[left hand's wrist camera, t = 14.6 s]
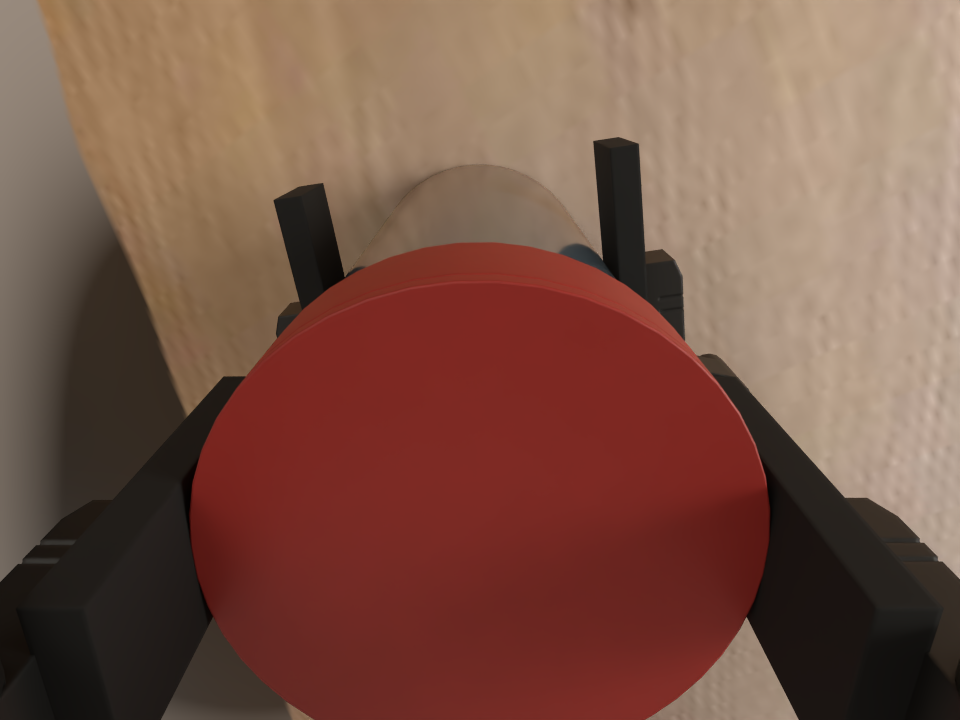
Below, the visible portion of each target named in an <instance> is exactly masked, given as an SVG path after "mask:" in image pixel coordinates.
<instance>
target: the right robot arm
mask: <svg viewBox="0 0 960 720" xmlns="http://www.w3.org/2000/svg"><path fill="white" fill-rule="evenodd" d="M593 143H594V155H595V167H596V180H597V192H598V204H599V216H600V229H601V241H602V253H603V262H604V263H605V265H606V266H607V267H608V269H609V270H610V272H611V273H612V274H613V276H614V277H615V278H616V280H618V281H620V282H621V283H623V284H625V285H626V286H628V287H629V288H630V289H631V290H633V291H634V292H635V293H637V294H638V295H639V296H641V297H642V298H643V299H644V300H646V301H647V302H648V303H650V304H651V305H652V306H653V307H654V308H655V309H656V310H657V311H658V312H659V313H660V314H661V315H662V316H663V317H664V318H665V319H666V320H667V321H668V323H669V324H670V325H671V326H672V327H673V328H674V329H675V330H676V331H677V333H678V334H679V335H680V336H681V337H682V339H683V340H684V341H685V331H684V310H683V307H684V304H683V278H682V274H681V272H680V270H679V268H678V266H677V264H676V262H675V260H674V259H673V258H672V257H671V256H669V255H668V254H667V253H666V252H665V251H664V250H663V249H661V250H654V251H647V252H645V243H644V226H643V209H642V192H641V174H640V157H639V144H638V143H635V142H632V141H629V140H626V139H623V138H620V137H617V138H610V139H604V140H597V141H593ZM274 204H275V208H276V212H277V216H278V220H279V223H280V227H281V231H282V235H283V239H284V243H285V247H286V250H287V254H288V258H289V262H290V266H291V270H292V274H293V277H294V281H295V285H296V289H297V293H298V297H299V301H300V302H294V303H290V304H289V305H288V307H287V308H286V309H285V310H284V311H283V312H282V313H281V314H280V316H279V317H278V323H277V330H276V335H277V338H278V337H279V336H280V335H281V333H282V332H283V331H284V330H285V329H286V328H287V327H288V326H289V324H290V323H291V322H292V321H293V320H294V319H295V318H296V317H297V316H298V315H299V314H300V313H301V311H302V310H303V309H304V308H305V307H307V306H308V305H309V304H310V303H312V302H313V301H314V300H315V299H317V298H318V297H319V296H320V295H321V294H323V293H324V292H325V291H326V290H328V289H329V288H330V287H332V286H334V285H335V284H337V283H339V282H340V281H342V280H343V279H344V278H345V276H344V272H343V267H342V263H341V259H340V254H339V250H338V246H337V241H336V237H335V233H334V228H333V224H332V220H331V215H330V211H329V207H328V202H327V198H326V194H325V189H324V185H323V183H320V184H314V185H307V186H301V187H298V188H296V189H294V190H292V191H290V192H288V193H286V194H284V195H282V196H281V197H279V198H277V199H275V200H274ZM697 357H698V358H699V359H700V361H701V362H702V363H703V364H704V366H705V367H706V368H707V369H708V371H709V372H710V373H711V374H712V375H713V376H736V375H735V374H734V373H733V371H732V370H731V369H730V368H729V367H728V366H727V365H726V364H725V363H724V361H723V360H722V359H721V358H719V357H718V356H717V355H713V354H705V355H701V356H697ZM736 377H737V376H736ZM737 378H738V377H737ZM738 379H739V378H738ZM739 381H740V382H741V383H742V381H741V380H740V379H739ZM742 384H743V383H742ZM743 385H744V384H743ZM744 386H745V385H744ZM745 387H746V386H745ZM746 388H747V387H746ZM747 389H748V388H747ZM748 391H749V389H748ZM749 392H750V391H749Z"/></svg>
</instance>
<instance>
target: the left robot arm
mask: <svg viewBox="0 0 960 720" xmlns="http://www.w3.org/2000/svg"><path fill="white" fill-rule="evenodd" d="M713 377H714V378H715V379H716V380H717V382H718V383H719V384H720V386H721V387H722V388H723V390H724V391H725V393H726V394H727V395H728V397H729V398H730V400H731V401H732V402H733V404H734V405H735V407H736V408H737V409H738V411H739V412H740V414H741V416H742V418H743V420H744V422H745V424H746V426H747V428H748V430H749V432H750V434H751V436H752V438H753V440H754V442H755V444H756V447H757V450H758V453H759V457H760V460H761V463H762V466H763V469H764V473H765V476H766V483H767V490H768V497H769V504H770V541H769V546H768V552H767V557H766V562H765V567H764V573H763V577H762V580H761V583H760V586H759V588H758V591H757V594H756V597H755V600H754V603H753V605H752V607H751V609H750V610H749V612H748V614H747V618H748V620H749V622H750V624H751V626H752V628H753V630H754V632H755V634H756V636H757V638H758V640H759V642H760V644H761V646H762V648H763V650H764V652H765V654H766V656H767V658H768V660H769V662H770V664H771V666H772V668H773V670H774V672H775V674H776V676H777V678H778V680H779V681H780V683H781V685H782V687H783V689H784V691H785V693H786V695H787V697H788V699H789V701H790V703H791V705H792V707H793V709H794V711H795V713H796V715H797V717H798V719H799V720H960V579H959V578H958V577H957V576H956V575H955V574H954V573H953V572H952V571H951V570H950V569H949V568H948V567H947V566H946V565H945V564H944V563H943V562H939V561H938V557H937V556H936V555H935V554H934V553H933V552H932V551H931V550H930V549H929V548H928V547H927V545H926V544H925V543H920V538H919V537H918V536H917V535H916V534H915V533H914V532H913V531H912V530H911V529H910V528H909V527H908V526H907V525H906V524H905V523H904V522H903V521H902V520H901V519H900V518H899V517H898V516H896V515H895V514H893V513H891V512H890V511H888V510H886V509H885V508H883V507H881V506H880V505H878V504H876V503H875V502H873V501H871V500H870V499H868V498H844V496H843V495H842V494H841V493H840V492H839V491H838V490H837V489H836V488H835V486H834V485H833V484H832V483H831V482H830V481H829V480H828V479H827V477H826V476H825V475H824V474H823V473H822V472H821V471H820V470H819V469H818V467H817V466H816V465H815V464H814V463H813V462H812V461H811V460H810V459H809V457H808V456H807V455H806V454H805V453H804V452H803V451H802V450H801V449H800V447H799V446H798V445H797V444H796V443H795V442H794V441H793V440H792V438H791V437H790V436H789V435H788V434H787V433H786V432H785V431H784V430H783V428H782V427H781V426H780V425H779V424H778V423H777V422H776V421H775V420H774V418H773V417H772V416H771V415H770V414H769V413H768V412H767V411H766V409H765V408H764V407H763V406H762V405H761V404H760V403H759V402H758V401H757V399H756V398H755V397H754V396H753V395H752V394H751V393H750V392H749V391H748V389H747V388H746V387H745V386H744V385H743V384H742V383H741V382H740V381H739V379H738V378H737V377H736V376H713ZM244 379H245V377H223V378H222V379H221V380H220V381H219V382H218V383H217V385H216V386H215V387H214V388H213V389H212V390H211V391H210V392H209V393H208V395H207V396H206V397H205V398H204V399H203V400H202V401H201V402H200V403H199V405H198V406H197V407H196V408H195V409H194V410H193V411H192V412H191V413H190V415H189V416H188V417H187V418H186V419H185V420H184V421H183V422H182V424H181V425H180V426H179V427H178V428H177V429H176V430H175V431H174V432H173V434H172V435H171V436H170V437H169V438H168V439H167V440H166V441H165V442H164V444H163V445H162V446H161V447H160V448H159V449H158V450H157V451H156V452H155V454H154V455H153V456H152V457H151V458H150V459H149V460H148V461H147V463H146V464H145V465H144V466H143V467H142V468H141V469H140V470H139V471H138V473H137V474H136V475H135V476H134V477H133V478H132V479H131V480H130V482H129V483H128V484H127V485H126V486H125V487H124V488H123V489H122V490H121V492H120V493H119V494H118V495H117V496H116V497H115V498H114V499H113V500H93V501H91V502H89V503H88V504H86V505H84V506H83V507H81V508H79V509H78V510H76V511H74V512H73V513H71V514H69V515H68V516H66V517H64V518H63V519H61V520H60V522H59V523H58V524H57V525H56V526H55V527H54V528H53V529H52V530H51V531H50V532H49V533H48V534H47V535H46V536H45V537H44V538H43V539H42V540H41V543H40V545H36V546H35V547H34V548H33V549H32V550H31V551H30V552H29V553H28V554H27V555H26V556H25V557H24V558H23V562H22V564H18V565H17V566H16V567H15V568H14V569H13V570H12V571H11V572H10V573H9V574H8V575H7V576H6V577H5V578H4V579H3V580H2V581H1V582H0V720H161V718H162V716H163V714H164V712H165V710H166V708H167V706H168V704H169V702H170V700H171V698H172V696H173V694H174V692H175V691H176V689H177V687H178V685H179V683H180V681H181V679H182V677H183V675H184V673H185V671H186V669H187V667H188V665H189V663H190V661H191V659H192V657H193V655H194V653H195V651H196V649H197V647H198V645H199V643H200V641H201V639H202V637H203V635H204V633H205V631H206V629H207V628H208V625H209V624H210V622H211V620H212V618H213V615H212V614H211V612H210V610H209V608H208V606H207V603H206V601H205V598H204V595H203V592H202V590H201V587H200V584H199V582H198V579H197V574H196V569H195V564H194V559H193V554H192V549H191V543H190V523H189V510H190V502H191V493H192V484H193V479H194V475H195V472H196V468H197V465H198V461H199V458H200V454H201V451H202V448H203V446H204V444H205V442H206V439H207V437H208V435H209V433H210V431H211V429H212V426H213V424H214V422H215V420H216V418H217V416H218V415H219V413H220V412H221V411H222V409H223V408H224V406H225V405H226V403H227V402H228V400H229V399H230V397H231V396H232V394H233V393H234V391H235V390H236V388H237V387H238V386H239V385H240V383H241V382H242V381H243V380H244Z"/></svg>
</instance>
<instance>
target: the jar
mask: <svg viewBox="0 0 960 720" xmlns="http://www.w3.org/2000/svg"><path fill="white" fill-rule="evenodd" d="M473 242H497V243H505V244H513V245H522V246H530V247H534V248H538V249H542V250H546V251H550V252H554V253H557V254H561V255H565V256H567V257H570V258H572V259H575V260H577V261H580V262H582V263H585V264H587V265H590V266H592V267H595V268H597V269H599V270H600V271H602V272H604V273H606V274H607V275H609V276H611V277H613V278H614V279H616V278H615V277H614V276H613V274H612V273H611V272H610V270H609V269H608V267H607V266H606V265H605V263H604V262H603V260H602V259H601V258H600V256H599V255H598V254H597V252H596V251H595V249H594V248H593V247H592V245H591V244H590V242H589V241H588V240H587V238H586V237H585V236H584V234H583V233H582V231H581V230H580V229H579V227H578V226H577V224H576V223H575V222H574V220H573V219H572V217H571V216H570V215H569V213H568V212H567V211H566V209H565V208H564V206H563V205H562V204H561V202H560V201H559V200H558V199H557V198H556V197H555V196H554V195H553V194H552V193H551V192H550V191H549V190H548V189H547V188H545V187H544V186H543V185H541V184H540V183H539V182H537V181H535V180H534V179H532V178H530V177H529V176H527V175H525V174H522V173H520V172H517V171H515V170H512V169H508V168H504V167H501V166H493V165H467V166H460V167H455V168H452V169H449V170H445V171H442V172H440V173H438V174H436V175H433V176H431V177H430V178H428V179H426V180H425V181H423V182H421V183H420V184H418V185H417V186H416V187H415V188H414V189H412V190H411V191H410V192H409V193H408V194H407V195H406V196H405V197H404V198H403V199H402V200H401V201H400V202H399V204H398V205H397V206H396V208H395V209H394V211H393V212H392V213H391V215H390V216H389V217H388V219H387V220H386V222H385V223H384V224H383V226H382V227H381V228H380V230H379V231H378V233H377V234H376V235H375V237H374V238H373V239H372V241H371V242H370V244H369V245H368V246H367V248H366V249H365V251H364V252H363V253H362V255H361V256H360V257H359V259H358V260H357V262H356V263H355V264H354V266H353V267H352V268H351V270H350V271H349V273H348V274H347V275H346V277H345V278H347V277H349V276H350V275H352V274H354V273H355V272H357V271H359V270H361V269H363V268H366V267H368V266H370V265H373V264H375V263H377V262H380V261H382V260H384V259H387V258H389V257H392V256H396V255H399V254H403V253H406V252H410V251H413V250H417V249H421V248H425V247H432V246H439V245H446V244H453V243H473ZM345 278H344V279H345ZM344 279H343V280H344Z"/></svg>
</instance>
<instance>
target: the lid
mask: <svg viewBox="0 0 960 720" xmlns="http://www.w3.org/2000/svg"><path fill="white" fill-rule="evenodd" d="M189 523H190V543H191V549H192V554H193V559H194V564H195V569H196V574H197V579H198V582H199V584H200V587H201V590H202V592H203V595H204V598H205V601H206V603H207V606H208V608H209V610H210V612H211V614H212V615H213V617H214V619H215V621H216V623H217V624H218V626H219V628H220V630H221V632H222V634H223V635H224V637H225V638H226V639H227V641H228V642H229V643H230V645H231V646H232V647H233V649H234V650H235V652H236V653H237V654H238V656H239V657H240V658H241V660H242V661H243V662H244V663H245V664H246V665H247V666H248V667H249V668H250V669H251V670H252V671H253V672H254V673H255V674H256V675H257V676H258V677H259V678H260V679H261V681H262V682H264V683H265V684H266V685H267V686H268V687H270V688H271V689H272V690H273V691H274V692H276V693H277V694H278V695H279V696H280V697H282V698H283V699H284V700H285V701H286V702H288V703H289V704H291V705H293V706H294V707H296V708H297V709H299V710H300V711H302V712H303V713H305V714H306V715H308V716H309V717H311V718H312V719H314V720H645V719H647V718H649V717H651V716H652V715H654V714H655V713H657V712H658V711H660V710H661V709H662V708H664V707H665V706H667V705H668V704H670V703H671V702H673V701H674V700H676V699H677V698H678V697H679V696H681V695H682V694H683V693H684V692H685V691H686V690H688V689H689V688H690V687H691V686H692V685H693V684H695V683H696V682H697V681H698V680H699V679H700V678H701V677H702V676H703V675H704V674H705V673H706V672H707V671H708V670H709V669H710V668H711V666H712V665H713V664H714V663H715V662H716V661H717V660H718V659H719V658H720V657H721V655H722V654H723V653H724V651H725V650H726V648H727V647H728V646H729V644H730V643H731V641H732V640H733V638H734V637H735V636H736V634H737V633H738V631H739V630H740V628H741V626H742V624H743V622H744V620H745V618H746V616H747V614H748V612H749V610H750V609H751V607H752V605H753V603H754V600H755V597H756V594H757V591H758V588H759V586H760V583H761V580H762V577H763V573H764V567H765V562H766V557H767V552H768V546H769V541H770V504H769V497H768V490H767V483H766V476H765V473H764V469H763V466H762V463H761V460H760V457H759V453H758V450H757V447H756V444H755V442H754V440H753V438H752V436H751V434H750V432H749V430H748V428H747V426H746V424H745V422H744V420H743V418H742V416H741V414H740V412H739V411H738V409H737V408H736V407H735V405H734V404H733V402H732V401H731V400H730V398H729V397H728V395H727V394H726V393H725V391H724V390H723V388H722V387H721V386H720V384H719V383H718V382H717V380H716V379H715V378H714V377H713V375H712V374H711V373H710V372H709V371H708V369H707V368H706V367H705V366H704V364H703V363H702V362H701V361H700V359H699V358H698V357H697V356H696V355H695V353H694V352H693V351H692V350H691V348H690V347H689V346H688V345H687V344H686V342H685V341H684V340H683V339H682V337H681V336H680V335H679V334H678V333H677V331H676V330H675V329H674V328H673V327H672V326H671V325H670V324H669V323H668V321H667V320H666V319H665V318H664V317H663V316H662V315H661V314H660V313H659V312H658V311H657V310H656V309H655V308H654V307H653V306H652V305H651V304H650V303H648V302H647V301H646V300H644V299H643V298H642V297H641V296H639V295H638V294H637V293H635V292H634V291H633V290H631V289H630V288H629V287H628V286H626V285H625V284H623V283H621V282H620V281H618V280H616V279H614V278H613V277H611V276H609V275H607V274H606V273H604V272H602V271H600V270H599V269H597V268H595V267H592V266H590V265H587V264H585V263H582V262H580V261H577V260H575V259H572V258H570V257H567V256H565V255H561V254H557V253H554V252H550V251H546V250H542V249H538V248H534V247H530V246H522V245H513V244H505V243H497V242H473V243H453V244H446V245H439V246H432V247H425V248H421V249H417V250H413V251H410V252H406V253H403V254H399V255H396V256H392V257H389V258H387V259H384V260H382V261H380V262H377V263H375V264H373V265H370V266H368V267H366V268H363V269H361V270H359V271H357V272H355V273H354V274H352V275H350V276H349V277H347V278H345V279H344V280H342V281H340V282H339V283H337V284H335V285H334V286H332V287H330V288H329V289H328V290H326V291H325V292H324V293H323V294H321V295H320V296H319V297H318V298H317V299H315V300H314V301H313V302H312V303H310V304H309V305H308V306H307V307H305V308H304V309H303V310H302V311H301V313H300V314H299V315H298V316H297V317H296V318H295V319H294V320H293V321H292V322H291V323H290V324H289V326H288V327H287V328H286V329H285V330H284V331H283V332H282V333H281V335H280V336H279V337H278V338H277V339H276V341H275V342H274V343H273V344H272V346H271V347H270V348H269V349H268V350H267V352H266V353H265V354H264V355H263V356H262V358H261V359H260V360H259V361H258V363H257V364H256V365H255V366H254V367H253V369H252V370H251V371H250V372H249V374H248V375H247V376H246V377H245V379H244V380H243V381H242V382H241V383H240V385H239V386H238V387H237V388H236V390H235V391H234V393H233V394H232V396H231V397H230V399H229V400H228V402H227V403H226V405H225V406H224V408H223V409H222V411H221V412H220V413H219V415H218V416H217V418H216V420H215V422H214V424H213V426H212V429H211V431H210V433H209V435H208V437H207V439H206V442H205V444H204V446H203V448H202V451H201V454H200V458H199V461H198V465H197V468H196V472H195V475H194V479H193V484H192V493H191V502H190V510H189Z"/></svg>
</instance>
